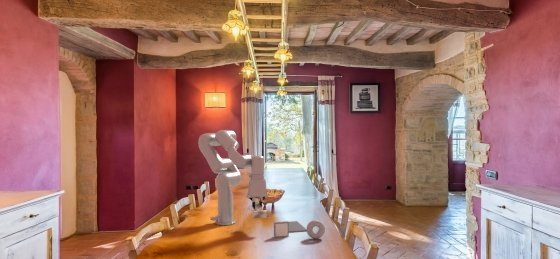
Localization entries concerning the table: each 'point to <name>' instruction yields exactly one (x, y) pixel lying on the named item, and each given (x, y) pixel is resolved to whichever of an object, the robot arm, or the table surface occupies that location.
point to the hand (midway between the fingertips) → (257, 208)
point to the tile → (281, 229)
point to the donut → (320, 232)
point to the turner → (259, 211)
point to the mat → (296, 227)
